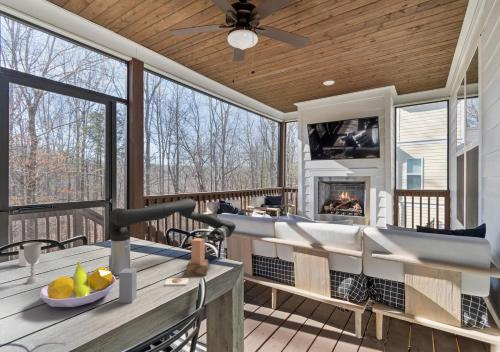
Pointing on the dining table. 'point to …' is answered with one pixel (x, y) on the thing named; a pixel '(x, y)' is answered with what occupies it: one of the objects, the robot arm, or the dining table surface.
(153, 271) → the dining table surface
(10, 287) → the dining table surface
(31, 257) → the chalice
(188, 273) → the walnut plinth
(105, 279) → the fruit bowl
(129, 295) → the grey block
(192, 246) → the terracotta block
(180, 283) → the card
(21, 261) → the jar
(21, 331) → the dining table surface
